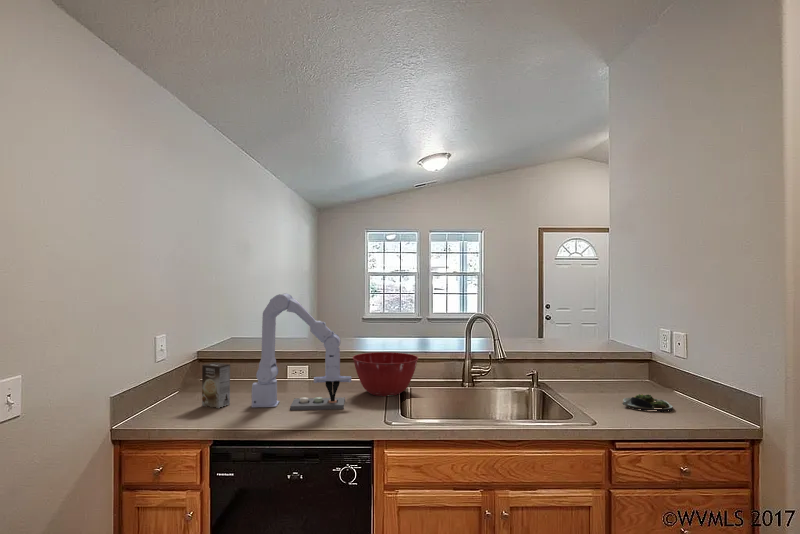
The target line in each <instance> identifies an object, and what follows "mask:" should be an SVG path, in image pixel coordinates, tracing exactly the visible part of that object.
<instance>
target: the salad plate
mask: <svg viewBox="0 0 800 534" xmlns="http://www.w3.org/2000/svg"><path fill="white" fill-rule="evenodd" d="M622 401H623V402H622V403H621V404H622V405H624V406H625V407H627V408H628V407H630V408H634V409H641V410H657V411H668V410H671V411H672V410H673V409H674V407H673V405H672V404H670V402H668V401H667V400H664V399H659V398H654V397H653V396H652V395H651V394H643V393H641V394H640V393H639V394H636V395H635V396H632V397H624V398H623V399H622ZM654 401H656V402H654ZM630 408H629V409H630ZM654 408H662V409H654ZM634 409H633V410H634Z"/></svg>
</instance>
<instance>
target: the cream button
mask: <svg viewBox="0 0 800 534" xmlns="http://www.w3.org/2000/svg"><path fill="white" fill-rule="evenodd" d="M299 398H300V403H308V398H309V397H304V396H303V397H299Z"/></svg>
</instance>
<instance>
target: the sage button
mask: <svg viewBox="0 0 800 534" xmlns="http://www.w3.org/2000/svg"><path fill="white" fill-rule="evenodd" d="M313 398H314V403H323V398H324V397H322V396H317V397H313Z"/></svg>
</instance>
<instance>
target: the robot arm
mask: <svg viewBox="0 0 800 534" xmlns="http://www.w3.org/2000/svg"><path fill="white" fill-rule="evenodd" d="M284 311H286V312H288V313H294V314H295V315H297V317H299V318H300V319H301V320H302V321H303V322H305V323H306V324H307V325H308V326H309V330H310V332H311V333H312V334H313V335H314V336H315V338H317V339H318V340H319V341H320V342H321V343H323V347H324V349H325V355H324V356H325V357H324V359H325V360H324V363H325V366H324V368H325V369H324V370H325V371H324V373H325V375H324V376H314V377H313V384H317V383H325V387H326V388H327V391H328V394H329V398H330V399H331V401H335V398H336V394H337V392H338V388H339V386H340V383H352V376H351V375H350V376H347V375H346V376H345V375H341V353H340V351H341V349H340V345H341V343H342V341H341V338H340V336H339V335H338V334H336V333H335V331H334V330H331V329H330V328H329V327H328V326H327V325H326V324H327V323H326V322H325V321H322V320H316V319H315V318H314V317H313V316H312V314H311V313H309V312H308V310H307V309H306V308H305V307H304V306H303V305H302V304H301V303H300V302H299V301H298V300H297V299H296V298H294V297H293V296H292V295H291V294H289V293H287V292H286V293H282V294H276V295H275V296H273V297H272V298H271V299H270V300H269V302H268V304H266V307H265V308H264V309H263V311H262V317H261V318H262V322H261V323H262V326H261V327H262V328H261V358H260V361H259V364H258V368H257V370H256V373H255V374H256V376H255V377H256V379H257V382H253V383H252V386H251V408H276V407H277V406H278V405H279V403H280V400H278V380H277V378H276V377H277V376H278V375H279V368H278V366H277V359H276V328H277V327H276V325H277V323H276V322H277V321H276V320H277V317H278V316H279V315H280V314H282V313H283V312H284Z"/></svg>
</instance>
